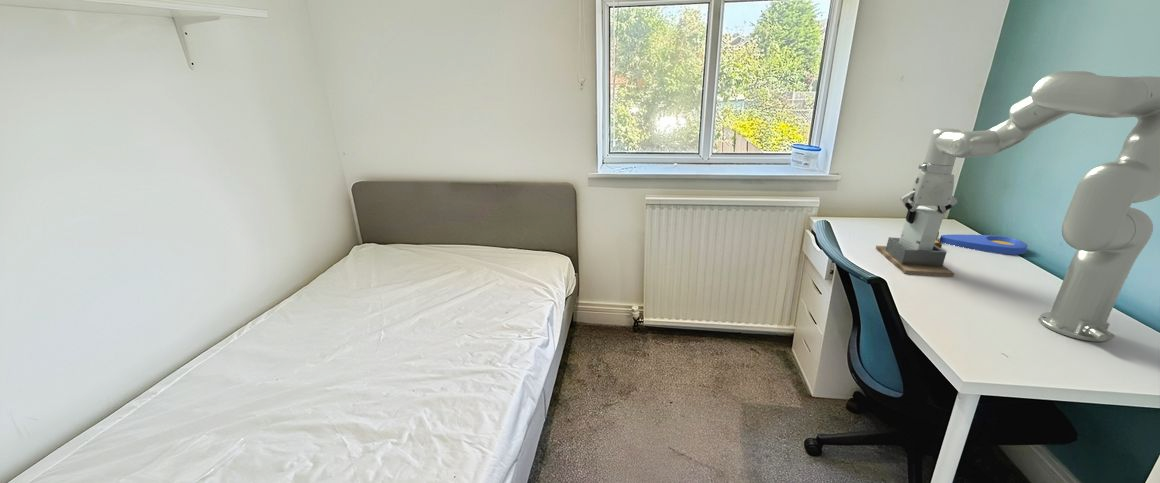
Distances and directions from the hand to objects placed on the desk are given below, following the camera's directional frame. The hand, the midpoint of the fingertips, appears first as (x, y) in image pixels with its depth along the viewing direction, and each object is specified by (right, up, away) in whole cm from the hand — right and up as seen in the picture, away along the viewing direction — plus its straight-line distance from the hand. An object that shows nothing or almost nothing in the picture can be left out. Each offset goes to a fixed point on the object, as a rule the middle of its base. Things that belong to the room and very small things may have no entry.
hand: (922, 222), depth 152 cm
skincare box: (0, -10, +4) cm, 10 cm away
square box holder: (0, -13, +5) cm, 14 cm away
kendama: (+19, -7, +24) cm, 31 cm away
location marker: (+35, -8, +19) cm, 41 cm away
